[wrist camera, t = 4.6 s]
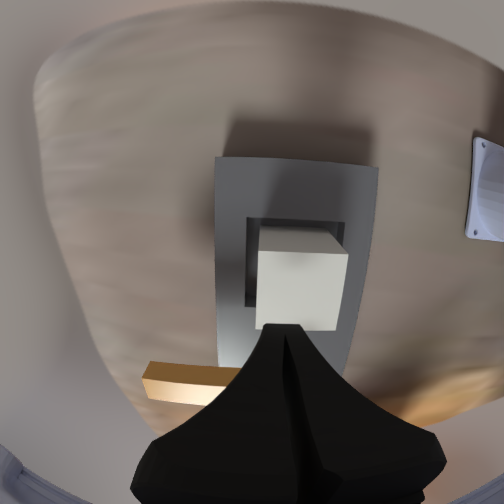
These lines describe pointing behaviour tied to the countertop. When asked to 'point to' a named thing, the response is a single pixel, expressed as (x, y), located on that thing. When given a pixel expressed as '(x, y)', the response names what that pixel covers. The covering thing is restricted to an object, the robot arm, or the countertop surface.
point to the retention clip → (186, 382)
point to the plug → (299, 277)
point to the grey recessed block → (286, 214)
